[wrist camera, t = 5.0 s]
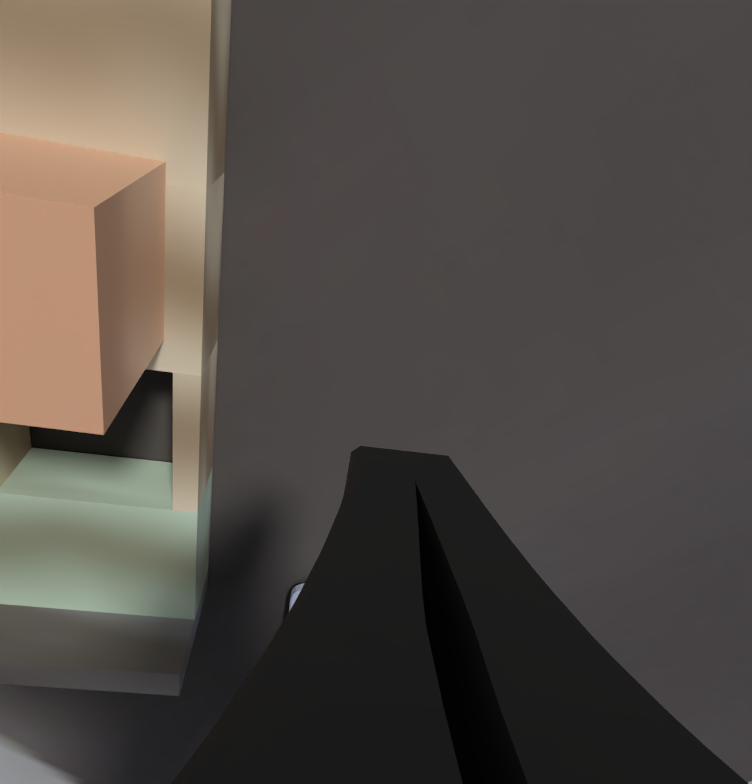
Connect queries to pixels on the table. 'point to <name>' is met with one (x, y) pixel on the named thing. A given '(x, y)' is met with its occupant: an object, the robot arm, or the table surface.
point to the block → (77, 281)
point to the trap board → (176, 354)
